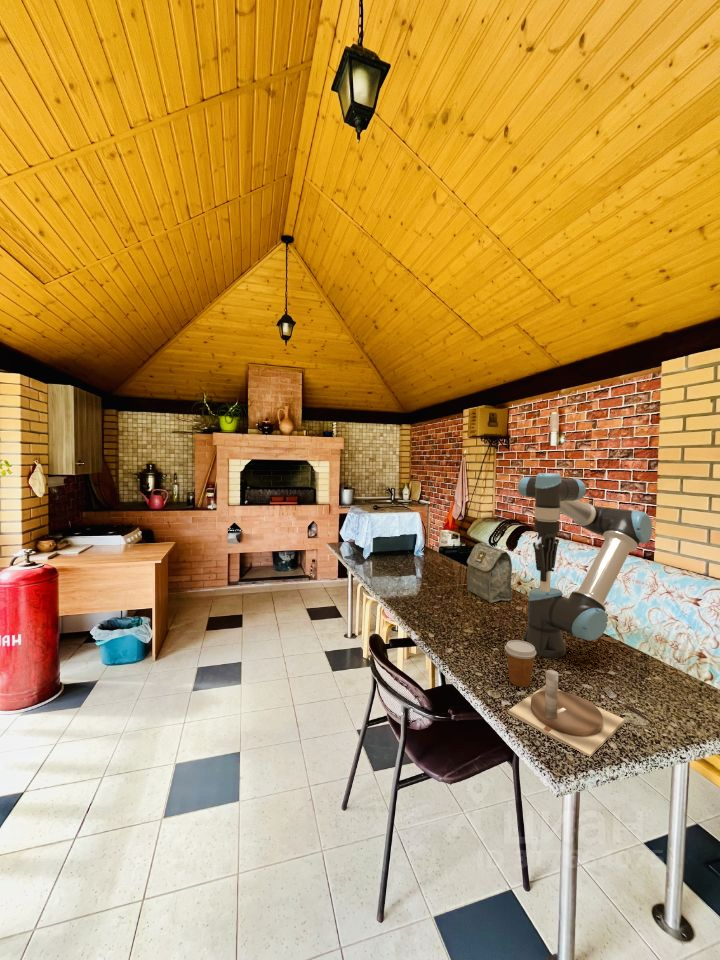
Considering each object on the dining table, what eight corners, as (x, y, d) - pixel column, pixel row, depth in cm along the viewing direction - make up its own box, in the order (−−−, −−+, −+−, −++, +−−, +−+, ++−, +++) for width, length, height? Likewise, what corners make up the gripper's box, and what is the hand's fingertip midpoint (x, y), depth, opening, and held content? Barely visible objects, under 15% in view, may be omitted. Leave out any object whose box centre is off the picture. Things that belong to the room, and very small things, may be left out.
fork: (650, 726, 110) (650, 719, 110) (602, 693, 126) (602, 687, 126) (657, 725, 111) (658, 718, 111) (609, 692, 126) (609, 686, 126)
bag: (463, 590, 223) (464, 541, 222) (488, 587, 228) (489, 540, 227) (487, 604, 202) (488, 550, 200) (514, 601, 207) (515, 548, 205)
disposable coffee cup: (510, 670, 138) (510, 636, 138) (539, 680, 132) (540, 645, 132) (499, 682, 131) (500, 646, 130) (530, 693, 125) (531, 656, 124)
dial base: (546, 687, 129) (546, 683, 129) (624, 722, 111) (624, 718, 111) (508, 713, 115) (508, 709, 115) (590, 758, 98) (590, 754, 98)
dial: (556, 688, 125) (557, 646, 125) (616, 721, 110) (618, 673, 109) (517, 705, 117) (518, 660, 116) (576, 744, 101) (578, 692, 100)
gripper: (545, 517, 139) (543, 584, 140) (525, 520, 131) (523, 591, 132) (567, 519, 133) (565, 589, 134) (548, 523, 125) (546, 597, 126)
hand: (544, 590), depth 133 cm, fingers closed
